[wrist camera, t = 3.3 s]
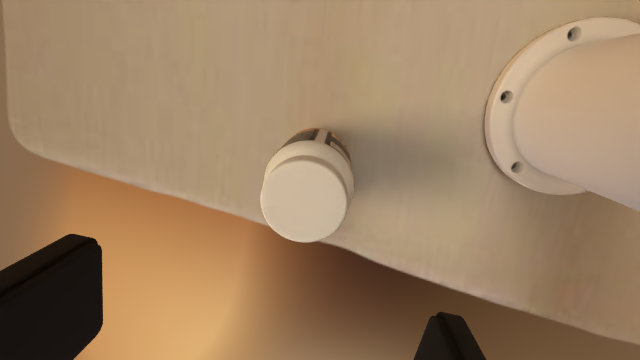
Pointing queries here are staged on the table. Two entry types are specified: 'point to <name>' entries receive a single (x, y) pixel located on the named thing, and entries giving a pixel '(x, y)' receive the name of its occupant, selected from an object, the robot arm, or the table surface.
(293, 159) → the pill bottle
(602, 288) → the table surface
